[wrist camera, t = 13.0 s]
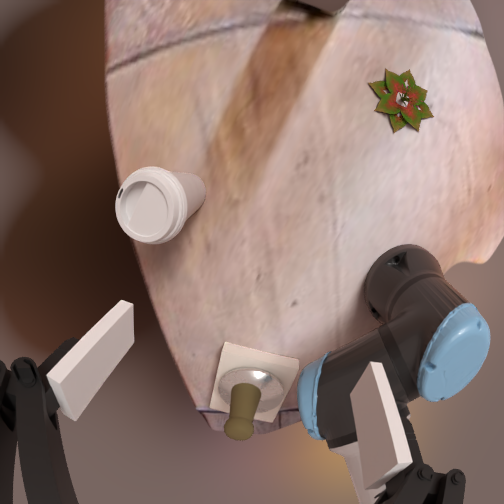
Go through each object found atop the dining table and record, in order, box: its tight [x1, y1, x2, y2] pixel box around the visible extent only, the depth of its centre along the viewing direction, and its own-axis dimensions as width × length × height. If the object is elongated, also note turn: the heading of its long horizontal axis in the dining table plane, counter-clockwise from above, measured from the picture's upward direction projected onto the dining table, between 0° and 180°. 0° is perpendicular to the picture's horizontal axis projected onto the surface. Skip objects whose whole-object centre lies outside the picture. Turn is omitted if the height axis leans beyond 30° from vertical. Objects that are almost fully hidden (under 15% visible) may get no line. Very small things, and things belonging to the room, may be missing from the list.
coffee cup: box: [116, 167, 206, 244], centre depth 37 cm, size 10×10×15 cm
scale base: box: [209, 342, 299, 422], centre depth 53 cm, size 15×19×4 cm
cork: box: [224, 383, 261, 440], centre depth 44 cm, size 6×6×11 cm
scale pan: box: [218, 367, 284, 413], centre depth 50 cm, size 13×13×1 cm
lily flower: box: [368, 69, 434, 133], centre depth 32 cm, size 12×12×5 cm
